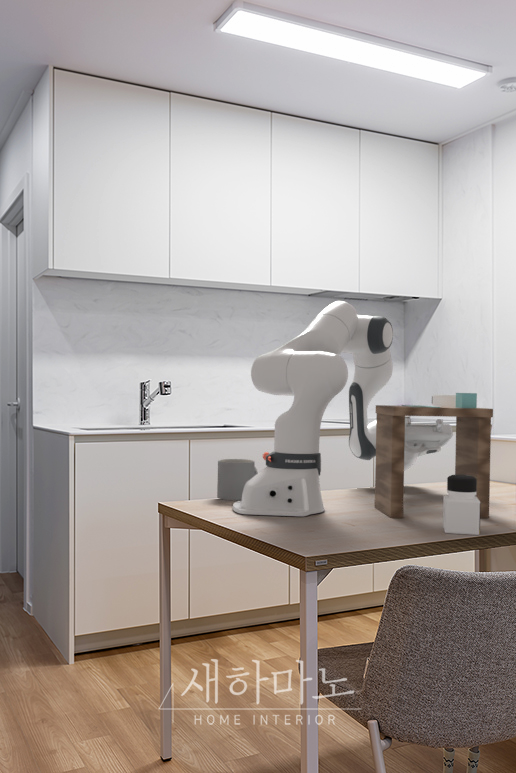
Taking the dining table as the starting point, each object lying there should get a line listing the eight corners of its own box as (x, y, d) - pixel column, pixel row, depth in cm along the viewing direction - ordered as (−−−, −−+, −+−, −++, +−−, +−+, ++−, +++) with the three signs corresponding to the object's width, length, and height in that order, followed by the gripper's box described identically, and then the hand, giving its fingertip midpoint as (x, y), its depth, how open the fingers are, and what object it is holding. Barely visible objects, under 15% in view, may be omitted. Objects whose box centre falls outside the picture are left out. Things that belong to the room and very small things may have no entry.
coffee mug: (231, 501, 181) (232, 463, 181) (209, 496, 189) (210, 459, 189) (271, 497, 190) (271, 460, 190) (248, 492, 198) (249, 457, 198)
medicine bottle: (480, 535, 145) (481, 478, 145) (444, 533, 146) (445, 476, 146) (476, 528, 152) (477, 474, 152) (442, 527, 153) (443, 472, 153)
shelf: (391, 518, 162) (394, 406, 162) (373, 506, 178) (375, 404, 178) (490, 518, 164) (493, 407, 164) (464, 507, 180) (466, 406, 180)
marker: (476, 408, 166) (476, 393, 166) (462, 408, 166) (462, 392, 166) (441, 405, 189) (441, 392, 189) (428, 405, 189) (429, 392, 189)
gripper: (375, 432, 210) (387, 410, 198) (441, 433, 212) (456, 411, 200) (378, 451, 206) (390, 430, 194) (444, 452, 208) (460, 431, 197)
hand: (424, 421), depth 197 cm, fingers open, 8 cm apart
